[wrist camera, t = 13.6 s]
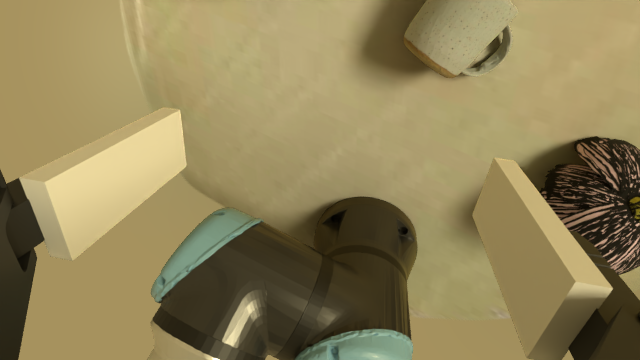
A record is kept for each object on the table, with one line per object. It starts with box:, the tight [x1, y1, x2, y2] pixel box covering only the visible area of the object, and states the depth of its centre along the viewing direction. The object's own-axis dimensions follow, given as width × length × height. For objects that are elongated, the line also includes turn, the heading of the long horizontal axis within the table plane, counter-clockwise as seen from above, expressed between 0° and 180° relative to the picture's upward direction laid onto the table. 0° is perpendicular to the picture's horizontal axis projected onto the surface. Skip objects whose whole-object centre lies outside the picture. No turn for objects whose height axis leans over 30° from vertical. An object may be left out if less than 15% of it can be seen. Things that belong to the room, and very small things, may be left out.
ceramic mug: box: [404, 0, 518, 78], centre depth 33 cm, size 11×8×8 cm
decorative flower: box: [539, 136, 640, 275], centre depth 38 cm, size 14×12×15 cm
